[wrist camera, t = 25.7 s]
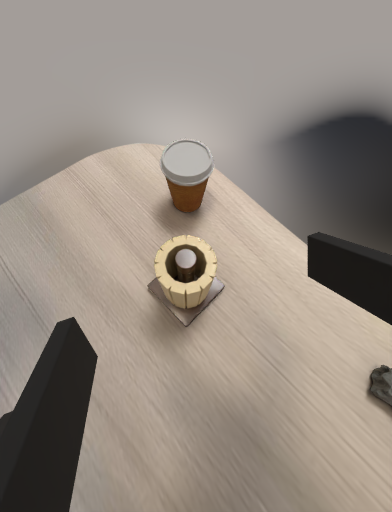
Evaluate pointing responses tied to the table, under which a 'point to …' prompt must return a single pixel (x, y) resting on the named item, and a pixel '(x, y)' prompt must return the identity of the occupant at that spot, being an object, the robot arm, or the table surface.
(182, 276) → the spindle stand
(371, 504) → the table surface
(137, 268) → the table surface
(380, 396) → the bone
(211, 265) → the wooden stave sleeve
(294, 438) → the table surface
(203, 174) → the disposable coffee cup
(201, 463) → the table surface
